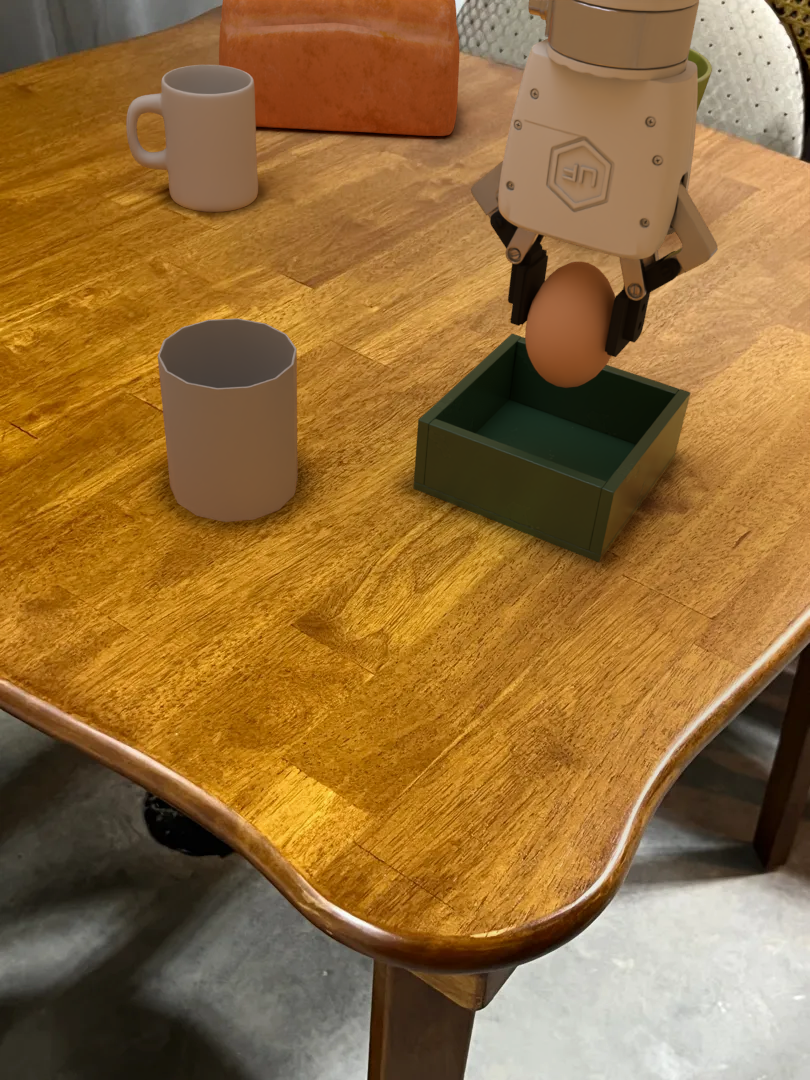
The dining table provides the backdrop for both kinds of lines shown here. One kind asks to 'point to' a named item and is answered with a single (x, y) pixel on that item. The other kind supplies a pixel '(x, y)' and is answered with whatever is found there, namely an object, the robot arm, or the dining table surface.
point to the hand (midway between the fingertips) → (571, 328)
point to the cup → (230, 418)
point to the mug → (203, 136)
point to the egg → (570, 325)
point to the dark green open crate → (549, 448)
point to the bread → (347, 63)
